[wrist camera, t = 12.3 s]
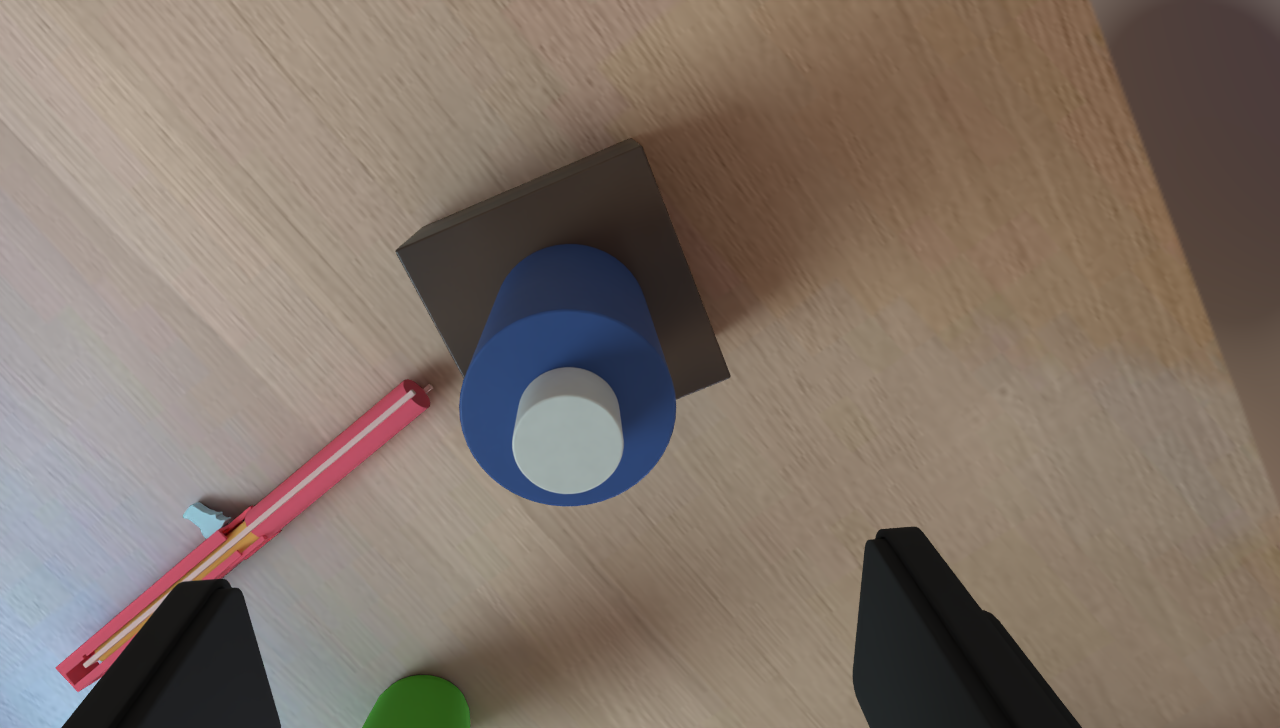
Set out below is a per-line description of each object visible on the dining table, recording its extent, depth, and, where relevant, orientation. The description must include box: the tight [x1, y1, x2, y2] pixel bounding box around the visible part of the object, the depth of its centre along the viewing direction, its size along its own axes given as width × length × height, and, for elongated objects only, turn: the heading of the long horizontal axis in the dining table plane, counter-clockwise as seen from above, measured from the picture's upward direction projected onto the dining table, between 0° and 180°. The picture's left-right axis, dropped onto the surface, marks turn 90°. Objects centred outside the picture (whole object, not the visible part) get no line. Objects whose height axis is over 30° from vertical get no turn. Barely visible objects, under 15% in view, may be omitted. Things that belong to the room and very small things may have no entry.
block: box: [396, 138, 730, 400], centre depth 31 cm, size 10×10×5 cm
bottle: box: [459, 244, 676, 506], centre depth 23 cm, size 6×6×11 cm
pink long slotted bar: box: [56, 379, 433, 692], centre depth 35 cm, size 24×2×5 cm
